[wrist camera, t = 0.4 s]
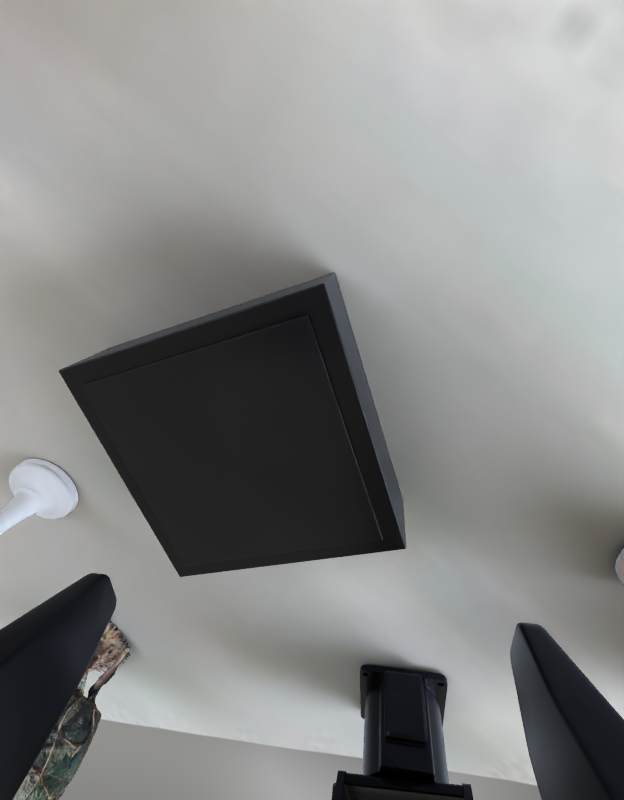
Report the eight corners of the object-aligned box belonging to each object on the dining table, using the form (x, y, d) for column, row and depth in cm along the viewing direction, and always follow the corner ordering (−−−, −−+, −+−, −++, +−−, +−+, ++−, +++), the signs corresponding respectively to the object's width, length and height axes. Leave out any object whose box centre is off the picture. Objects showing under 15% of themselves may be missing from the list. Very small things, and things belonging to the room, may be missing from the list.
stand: (403, 500, 24) (406, 552, 20) (206, 531, 28) (178, 580, 24) (335, 271, 19) (323, 283, 15) (108, 347, 23) (54, 372, 19)
